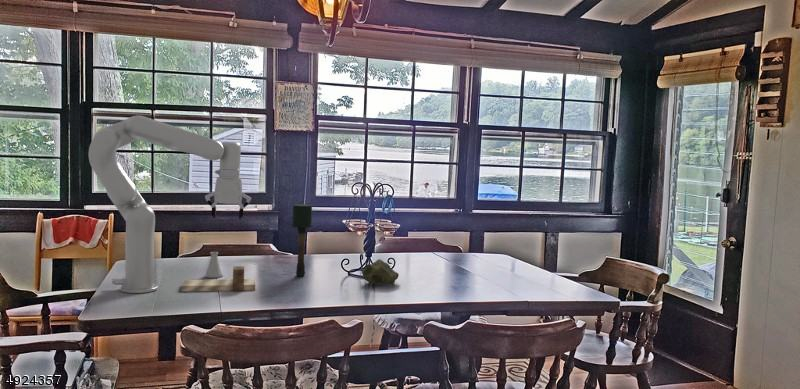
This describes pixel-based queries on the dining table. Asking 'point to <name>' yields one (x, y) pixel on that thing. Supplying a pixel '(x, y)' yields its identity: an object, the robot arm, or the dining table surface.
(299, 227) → the potato masher grenade
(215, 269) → the flask
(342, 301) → the dining table surface
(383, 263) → the decorative rock
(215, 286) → the board
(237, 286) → the brown wooden block
